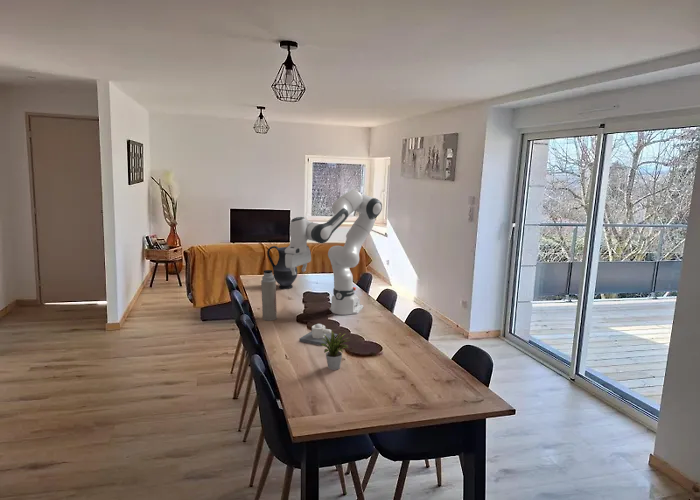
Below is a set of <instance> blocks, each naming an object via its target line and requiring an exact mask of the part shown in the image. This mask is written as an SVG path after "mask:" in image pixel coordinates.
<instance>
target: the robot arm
mask: <svg viewBox="0 0 700 500" xmlns="http://www.w3.org/2000/svg"><path fill="white" fill-rule="evenodd" d="M331 209H332V213H333V216H331V217H330V218H329V219H328V220H327V221H326V222H324V223H317V222H313V221H310V220H308V219H306V218H305V217H304V216H297V217H294V218H292V219H291V220H290V222H289V223H290V224H289V238H290V241H289V245H288V246H286V247H287V248H286V249H285V253H287V254H286V255H285V265H286V267H287V268H290V269H291V271H292V275H296V272H295V267H299V266H302V267H301V272H302V273H304V272H306V271H307V267H308V263H311V261H312V253H311V249H310V246H309V245H307V244H308V242H307V241H312V242H316V243H318V244H325V243H327V242H328V241H329V240H330V238H331V236H332V235H333V234H334V232H335V231H336V230H337V229H338V228H339V227H340V226H342V224H343V223H344V222H345V221H346V220H347V219H348V217H349V216H350V215H351V214H352V213H354V212H357V213H359V214H358V217H357V218H356V219H355V221H353V224H352V226H351V227H350V228H349V230H348V231H347V233H346V235H345V237H346V240H345V243H344V245H343V246H342V245H333V246H331V247H330V248H329V249H328V252H327V257H328V259H329V261H330V264H331V268H332V272H333V291H332V293H333V295H332V297H331V303H330V304H331V305H330V307H329V311H331V313H333V314H335V315H339V316H340V315H343V316H345V315H346V316H347V315H356V314H359V313H360V312H361V311H362V309H363V308H364V305H363V304H361V303H360V302H361V301H360V298H359V297H358V295H357V294H355V291H356V290H357V287H354V286H353V285H354V283H353V281H354V280H353V279H354V277H353V273H352V271H351V269H350V268H355V267H357V266H358V264H359V263H360V251H361V248H362V246H363V244H364V243H365V241H366V239H367V238H368V236H369V235H370V233H371V232H372V230H373V228H374V226H375V223H376V218H377V217H378V216H379V215H380V214H381V211H382V209H383V203H382V201H380V200H379V199H378V198H376V197H373V196H370V195H367V194H362V193H361V192H360V191H359V190H355V189H352V190H349V191H347V192H346V193H344V194H343V195H341V196H340V197H339V198H337V199H336V200H334V202H333V204H332V206H331Z"/></svg>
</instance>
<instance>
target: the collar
mask: <svg viewBox="0 0 700 500" xmlns="http://www.w3.org/2000/svg"><path fill="white" fill-rule="evenodd" d="M315 325H316V324H314V325H312V326H311V331H312V337H313V338H317V339H319V338H324V337H325V336H326V334H331V333H332V329H328V328H326V325H324V324H322V328H315ZM324 335H325V336H324Z"/></svg>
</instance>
